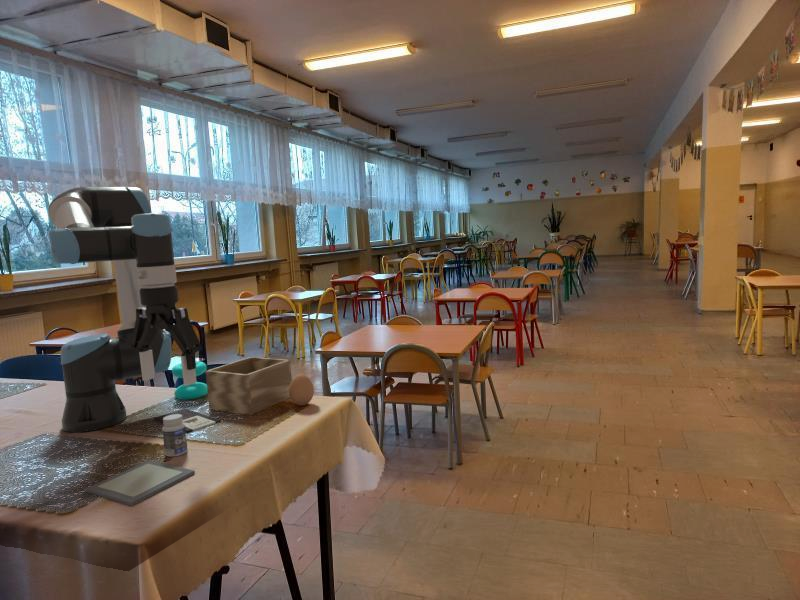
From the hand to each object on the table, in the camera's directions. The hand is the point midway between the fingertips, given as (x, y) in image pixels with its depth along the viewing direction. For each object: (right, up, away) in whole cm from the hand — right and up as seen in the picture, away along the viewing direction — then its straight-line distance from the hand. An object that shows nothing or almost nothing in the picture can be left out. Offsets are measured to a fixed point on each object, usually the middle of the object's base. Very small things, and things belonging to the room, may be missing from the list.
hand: (169, 381), depth 118 cm
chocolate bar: (-6, -15, +24) cm, 28 cm away
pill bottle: (+1, -16, +2) cm, 17 cm away
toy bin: (+8, -12, +36) cm, 39 cm away
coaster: (0, -18, -12) cm, 22 cm away
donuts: (-13, -12, +47) cm, 50 cm away
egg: (+24, -12, +31) cm, 41 cm away
